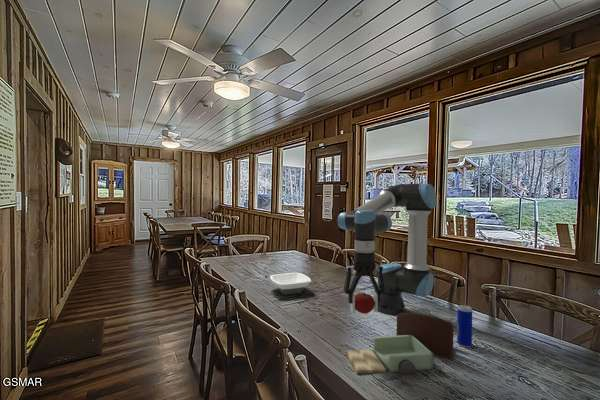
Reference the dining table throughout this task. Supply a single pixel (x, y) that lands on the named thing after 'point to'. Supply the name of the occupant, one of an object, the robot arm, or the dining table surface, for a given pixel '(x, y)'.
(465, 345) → the beverage can
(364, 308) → the tomato
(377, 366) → the panel
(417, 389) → the dining table surface
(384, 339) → the box
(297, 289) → the bowl
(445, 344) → the letter holder
